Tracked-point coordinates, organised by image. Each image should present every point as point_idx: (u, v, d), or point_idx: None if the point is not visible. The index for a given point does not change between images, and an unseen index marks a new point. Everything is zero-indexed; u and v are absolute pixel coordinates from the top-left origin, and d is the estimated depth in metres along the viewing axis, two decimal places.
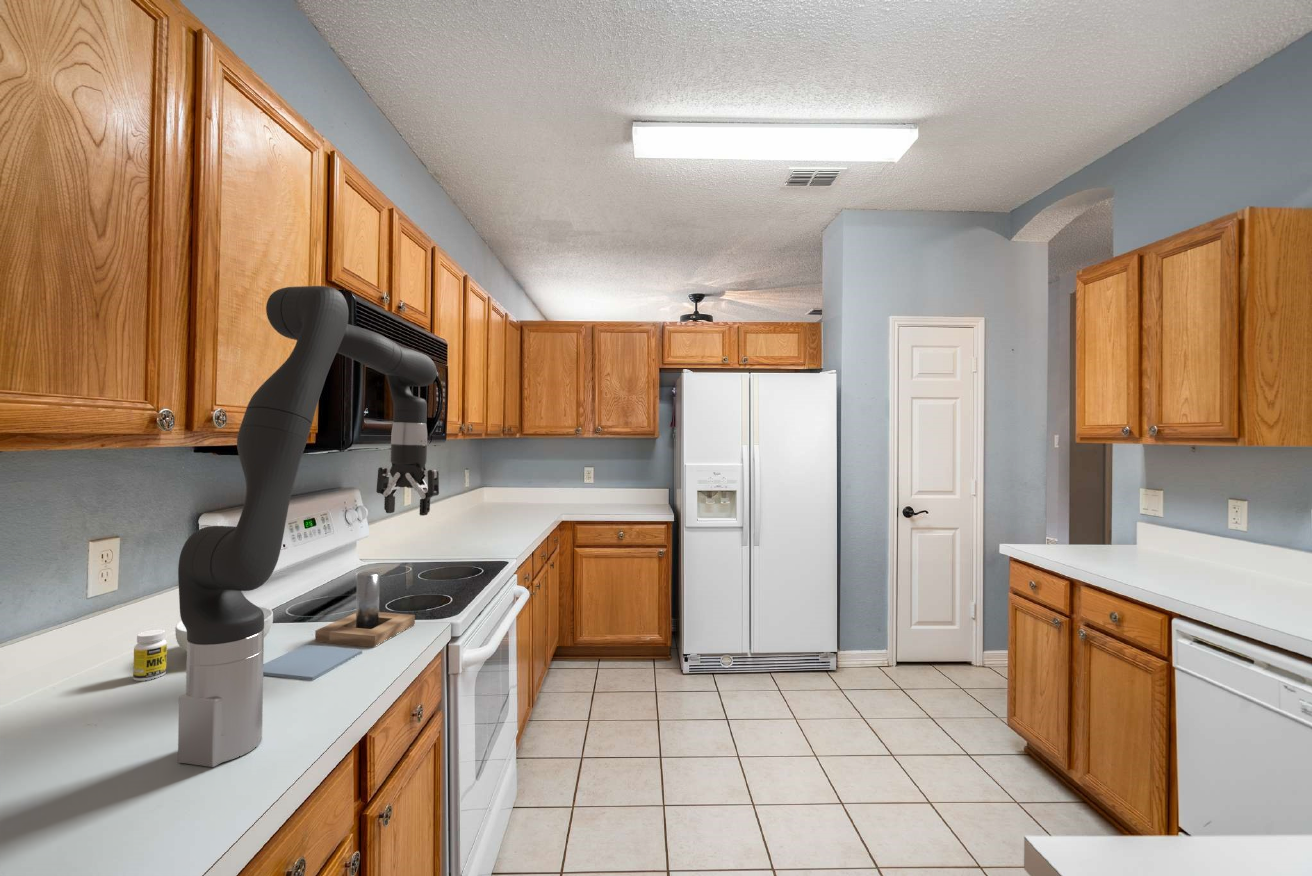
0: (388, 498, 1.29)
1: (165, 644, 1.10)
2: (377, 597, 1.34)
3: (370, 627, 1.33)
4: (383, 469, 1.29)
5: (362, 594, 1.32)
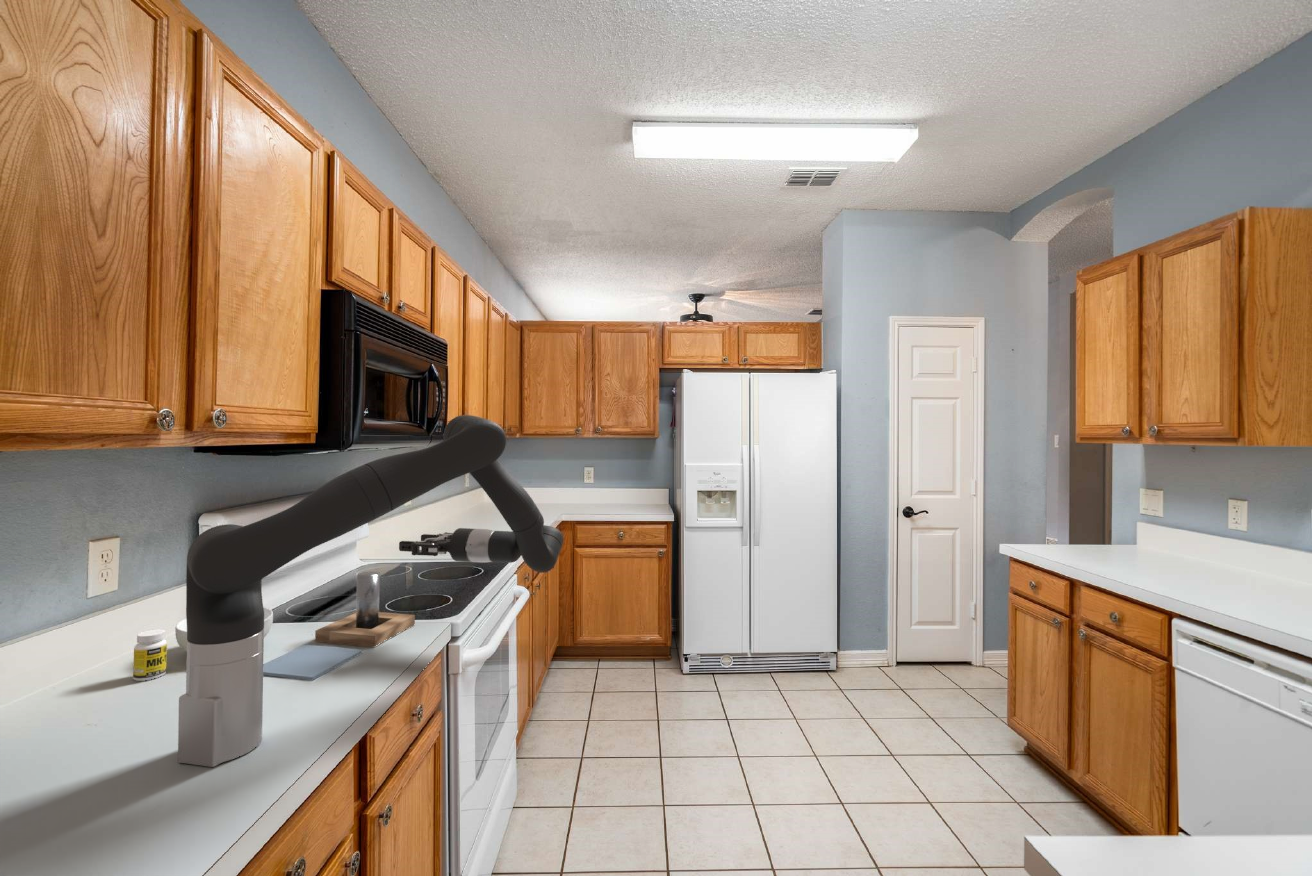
0: (434, 535, 1.36)
1: (165, 644, 1.10)
2: (377, 597, 1.34)
3: (370, 627, 1.33)
4: None
5: (362, 594, 1.32)
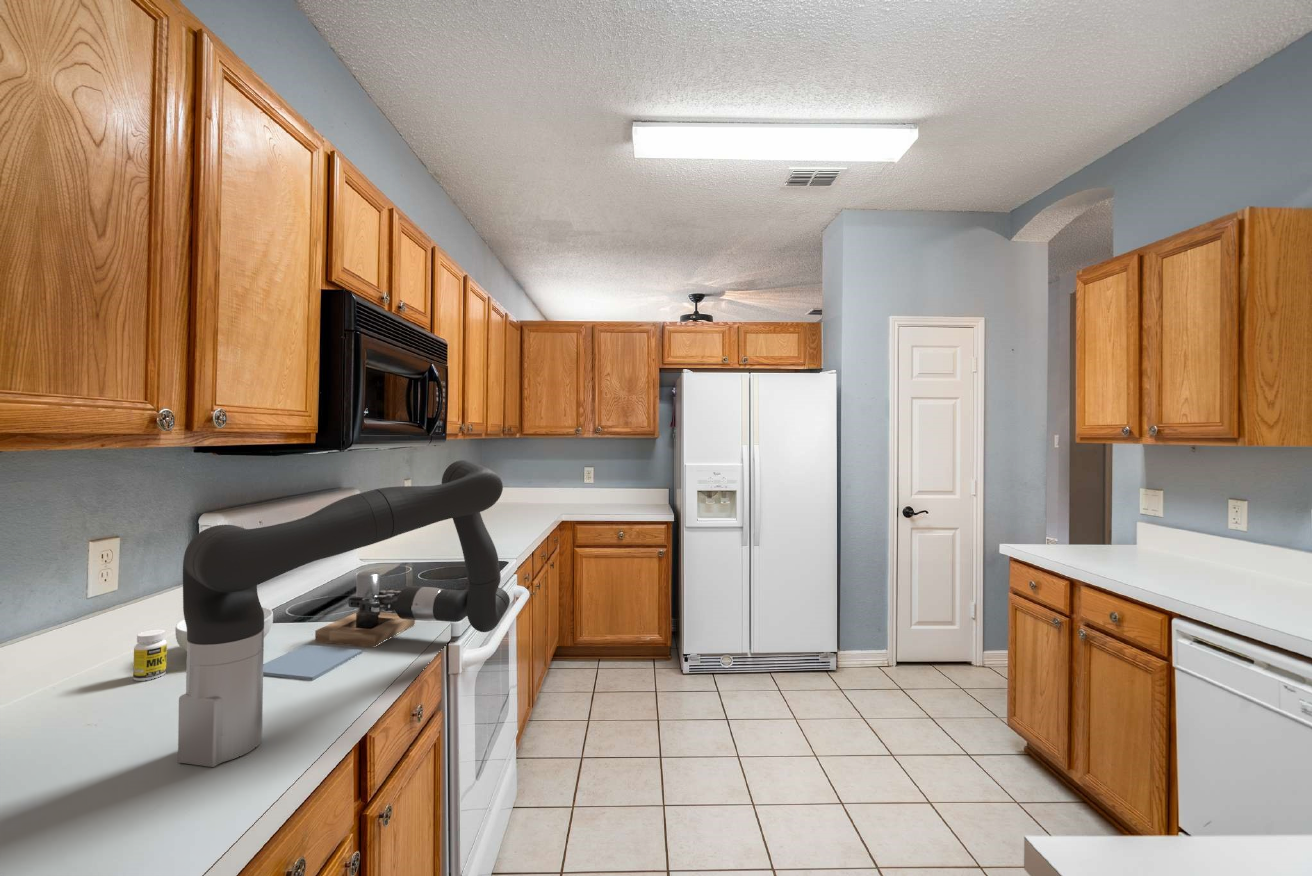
0: None
1: (165, 644, 1.10)
2: None
3: (370, 627, 1.33)
4: None
5: (361, 594, 1.32)
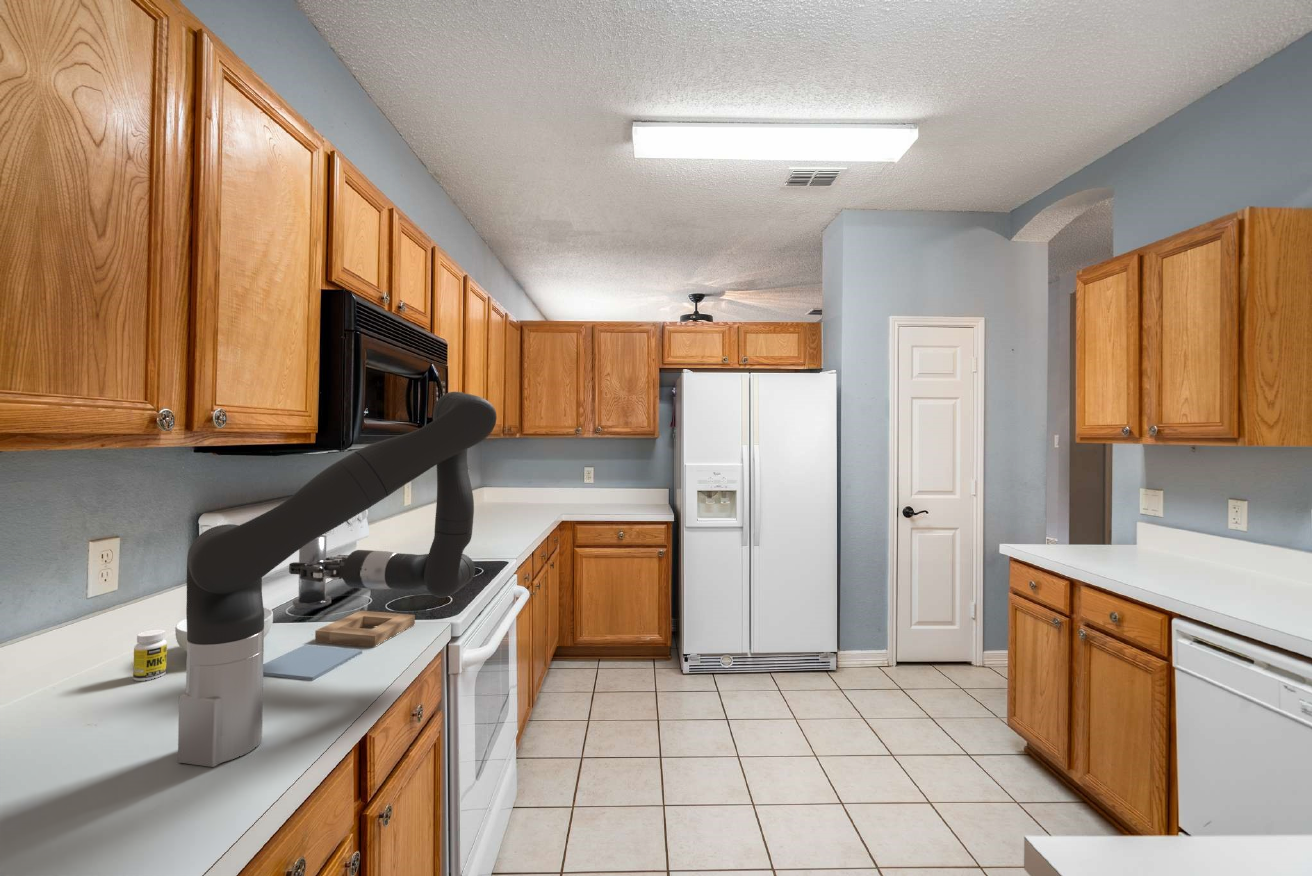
0: None
1: (165, 644, 1.10)
2: None
3: (314, 597, 1.16)
4: None
5: (304, 559, 1.15)
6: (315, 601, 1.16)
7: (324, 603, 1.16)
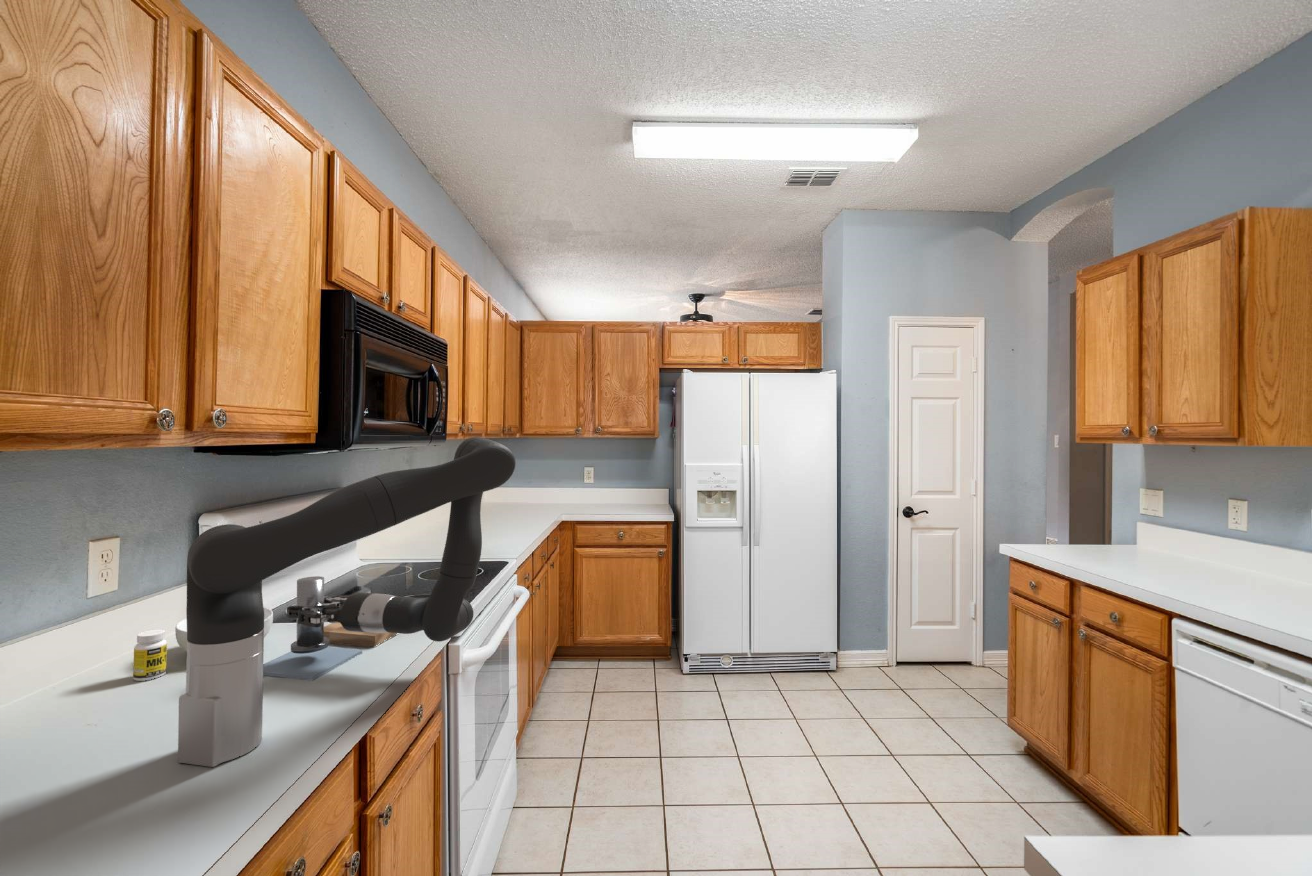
0: None
1: (165, 644, 1.10)
2: None
3: (313, 640, 1.15)
4: None
5: (302, 602, 1.14)
6: (313, 644, 1.15)
7: (322, 646, 1.16)
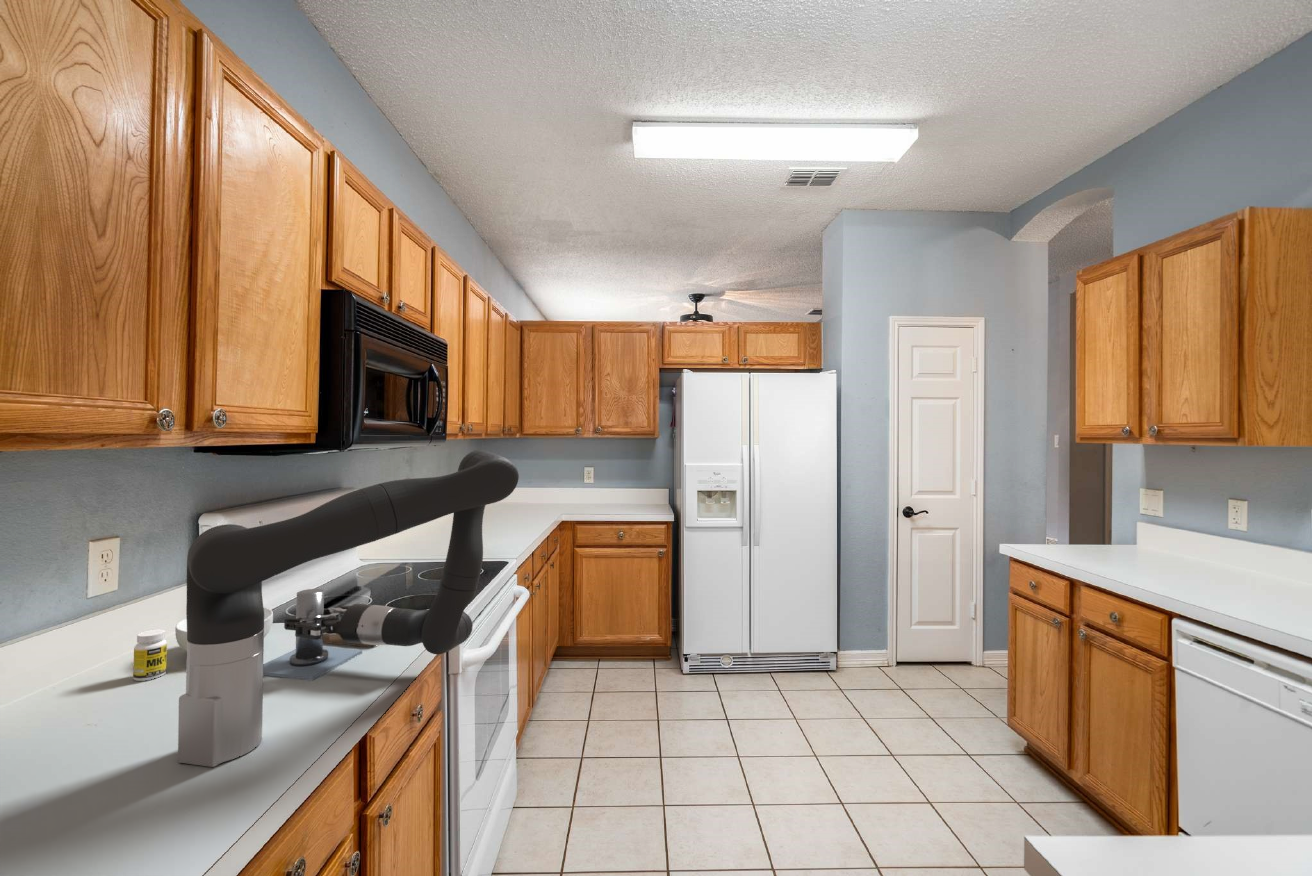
0: (324, 609, 1.20)
1: (165, 644, 1.10)
2: None
3: (312, 653, 1.15)
4: None
5: (302, 615, 1.14)
6: (312, 657, 1.15)
7: (321, 659, 1.16)
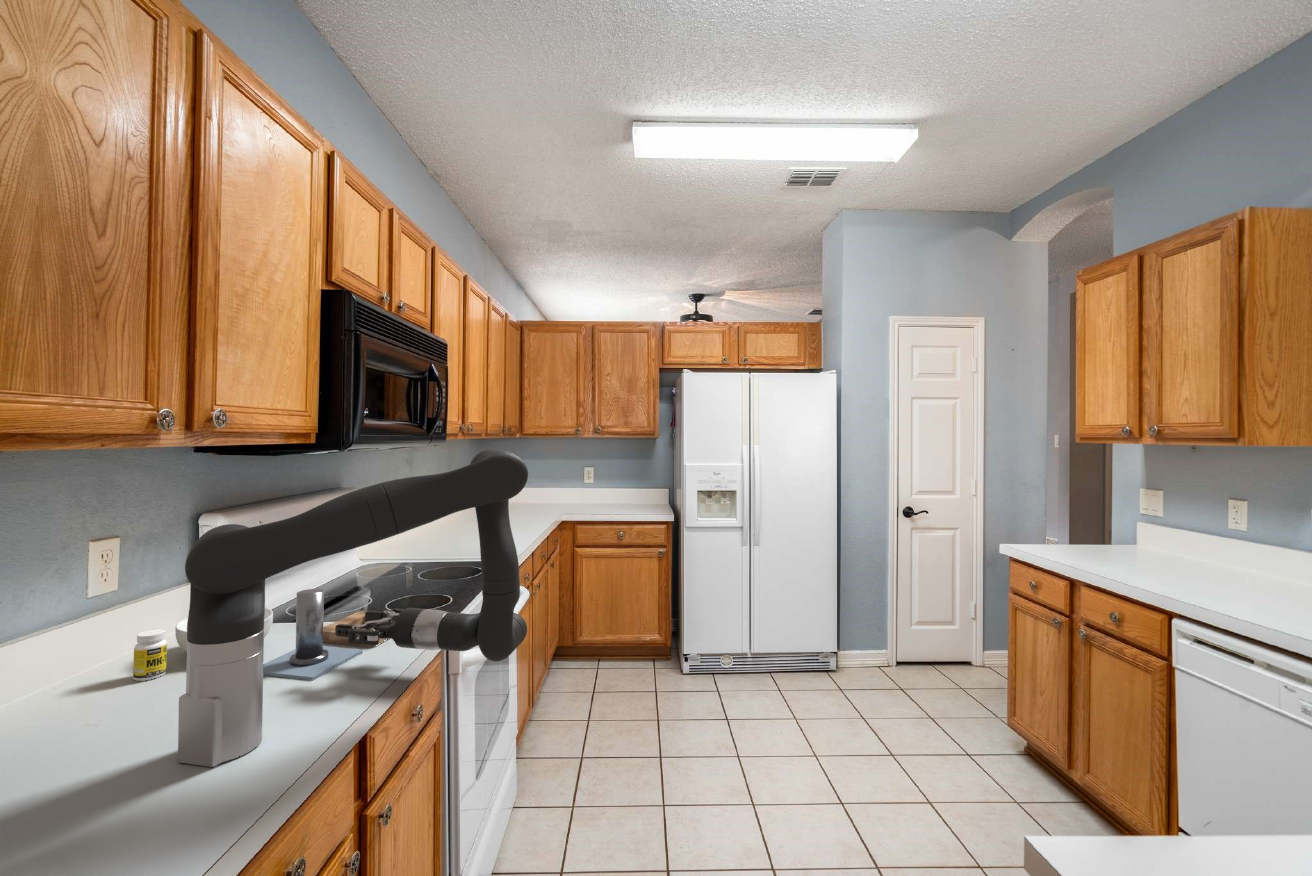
0: (380, 612, 1.18)
1: (165, 644, 1.10)
2: (320, 618, 1.16)
3: (312, 653, 1.15)
4: None
5: (302, 615, 1.14)
6: (312, 657, 1.15)
7: (321, 659, 1.16)
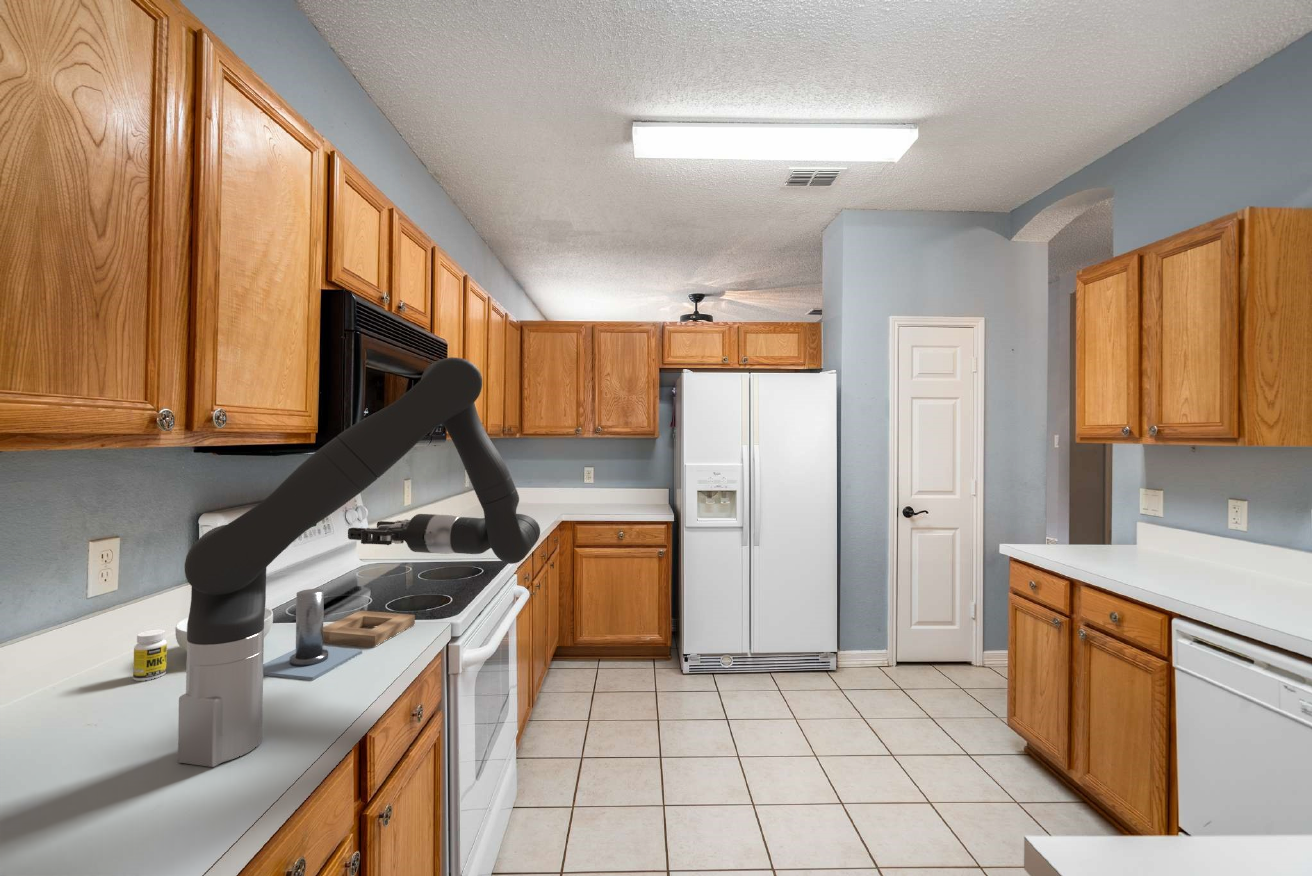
0: (392, 522, 1.18)
1: (165, 644, 1.10)
2: (320, 618, 1.16)
3: (312, 653, 1.15)
4: None
5: (301, 615, 1.14)
6: (312, 657, 1.15)
7: (321, 659, 1.16)
